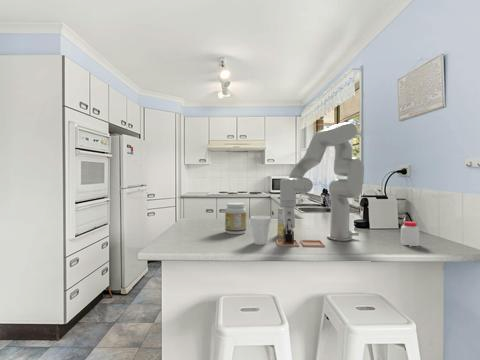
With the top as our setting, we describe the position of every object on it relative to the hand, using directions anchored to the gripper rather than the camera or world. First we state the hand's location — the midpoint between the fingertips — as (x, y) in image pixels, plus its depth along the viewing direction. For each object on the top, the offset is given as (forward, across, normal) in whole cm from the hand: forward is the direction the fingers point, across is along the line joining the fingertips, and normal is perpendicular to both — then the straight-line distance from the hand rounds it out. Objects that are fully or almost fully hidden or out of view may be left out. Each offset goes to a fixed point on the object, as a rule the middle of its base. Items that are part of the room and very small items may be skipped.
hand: (288, 240), depth 142 cm
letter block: (+1, 0, 0) cm, 1 cm away
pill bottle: (+3, +5, -60) cm, 60 cm away
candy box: (+2, +20, 0) cm, 20 cm away
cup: (+2, 0, +14) cm, 14 cm away
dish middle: (+2, 0, 0) cm, 2 cm away
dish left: (+2, 0, -12) cm, 12 cm away
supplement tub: (+2, +25, +28) cm, 37 cm away
